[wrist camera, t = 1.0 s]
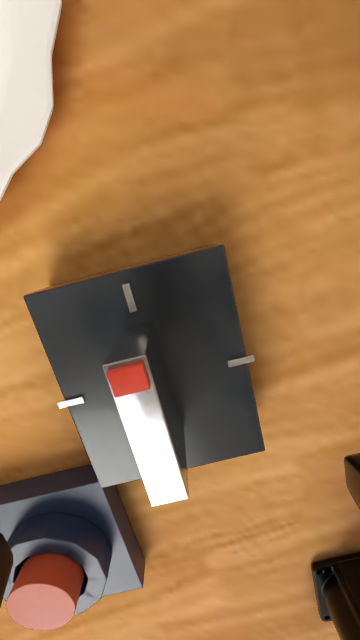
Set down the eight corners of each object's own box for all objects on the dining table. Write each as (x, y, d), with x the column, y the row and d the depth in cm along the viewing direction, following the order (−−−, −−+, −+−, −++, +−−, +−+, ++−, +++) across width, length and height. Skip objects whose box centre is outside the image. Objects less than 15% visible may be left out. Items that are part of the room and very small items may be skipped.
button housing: (145, 561, 23) (140, 617, 19) (37, 585, 23) (14, 644, 19) (106, 460, 20) (93, 504, 16) (-15, 488, 20) (-53, 538, 17)
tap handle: (184, 428, 16) (190, 504, 11) (156, 435, 16) (151, 513, 11) (153, 320, 14) (145, 357, 10) (122, 328, 14) (99, 369, 10)
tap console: (256, 418, 19) (272, 451, 16) (106, 454, 20) (94, 492, 17) (220, 242, 16) (232, 242, 13) (42, 288, 17) (13, 298, 14)
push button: (92, 589, 19) (84, 623, 17) (34, 601, 19) (21, 636, 17) (71, 545, 18) (61, 577, 16) (10, 558, 18) (-6, 592, 16)
